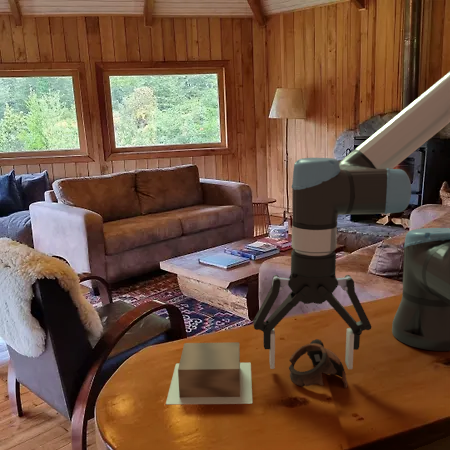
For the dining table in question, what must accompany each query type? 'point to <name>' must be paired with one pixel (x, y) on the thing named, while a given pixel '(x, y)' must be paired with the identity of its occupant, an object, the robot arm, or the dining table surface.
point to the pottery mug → (323, 362)
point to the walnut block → (209, 370)
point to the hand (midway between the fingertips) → (310, 365)
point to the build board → (243, 399)
